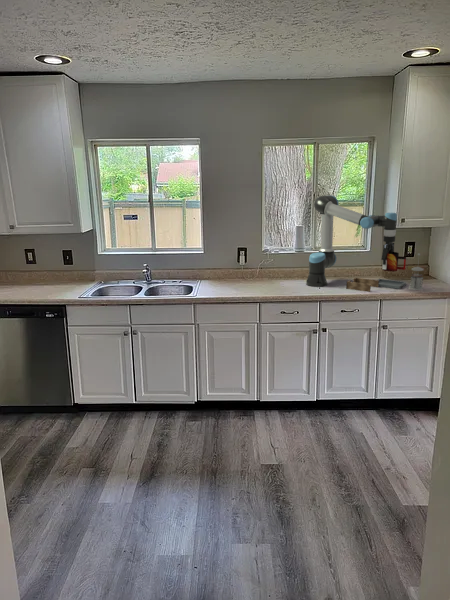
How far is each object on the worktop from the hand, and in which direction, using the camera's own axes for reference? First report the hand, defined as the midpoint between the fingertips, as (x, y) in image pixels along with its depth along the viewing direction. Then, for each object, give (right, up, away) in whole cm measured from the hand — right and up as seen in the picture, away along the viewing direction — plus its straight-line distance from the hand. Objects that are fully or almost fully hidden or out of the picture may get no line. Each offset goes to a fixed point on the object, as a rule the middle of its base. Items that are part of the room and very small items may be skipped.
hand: (387, 268), depth 298 cm
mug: (+4, -2, -1) cm, 4 cm away
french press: (+22, -14, +5) cm, 27 cm away
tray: (+7, -11, +16) cm, 21 cm away
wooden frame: (-13, -14, +10) cm, 22 cm away
